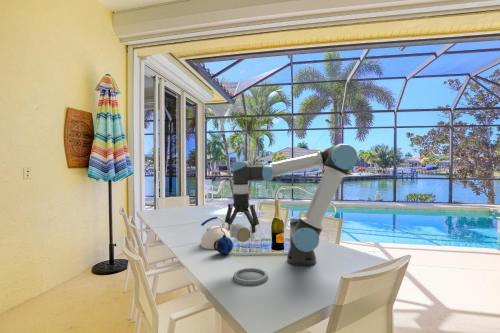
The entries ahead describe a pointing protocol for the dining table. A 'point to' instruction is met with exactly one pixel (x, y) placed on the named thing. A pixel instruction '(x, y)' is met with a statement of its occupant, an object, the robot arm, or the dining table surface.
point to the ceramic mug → (240, 232)
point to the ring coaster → (250, 276)
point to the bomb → (223, 245)
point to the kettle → (213, 234)
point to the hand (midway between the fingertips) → (241, 238)
